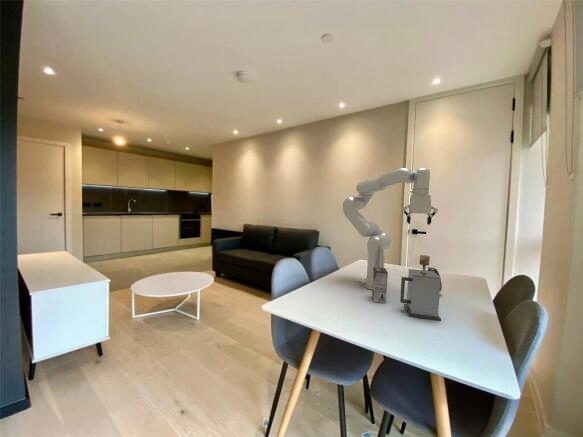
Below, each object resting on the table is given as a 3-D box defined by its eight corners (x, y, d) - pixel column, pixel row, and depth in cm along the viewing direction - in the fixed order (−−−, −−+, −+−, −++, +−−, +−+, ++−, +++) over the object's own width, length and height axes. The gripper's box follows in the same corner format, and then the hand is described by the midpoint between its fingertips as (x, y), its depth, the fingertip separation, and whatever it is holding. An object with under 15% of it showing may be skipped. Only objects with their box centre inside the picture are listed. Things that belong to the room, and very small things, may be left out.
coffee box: (371, 295, 139) (373, 266, 138) (383, 297, 137) (385, 267, 136) (373, 302, 130) (375, 271, 129) (386, 303, 128) (388, 272, 127)
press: (402, 315, 114) (404, 274, 113) (397, 304, 127) (400, 267, 126) (440, 321, 110) (444, 278, 109) (432, 309, 123) (435, 270, 122)
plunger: (413, 301, 115) (416, 257, 113) (409, 294, 123) (412, 253, 122) (435, 303, 112) (438, 258, 111) (430, 296, 121) (432, 254, 120)
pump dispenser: (436, 291, 150) (437, 265, 149) (444, 297, 140) (446, 270, 139) (418, 289, 151) (419, 264, 150) (425, 296, 141) (427, 269, 140)
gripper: (404, 191, 133) (402, 223, 134) (441, 192, 129) (438, 225, 130) (402, 192, 141) (400, 222, 142) (436, 192, 136) (434, 224, 137)
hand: (418, 224), depth 136 cm, fingers open, 9 cm apart
